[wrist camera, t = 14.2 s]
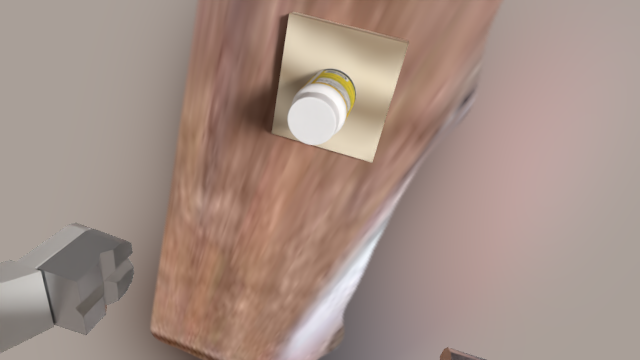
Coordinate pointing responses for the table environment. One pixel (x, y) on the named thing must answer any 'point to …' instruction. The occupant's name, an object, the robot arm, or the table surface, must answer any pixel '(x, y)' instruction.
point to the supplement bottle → (321, 106)
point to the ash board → (350, 57)
